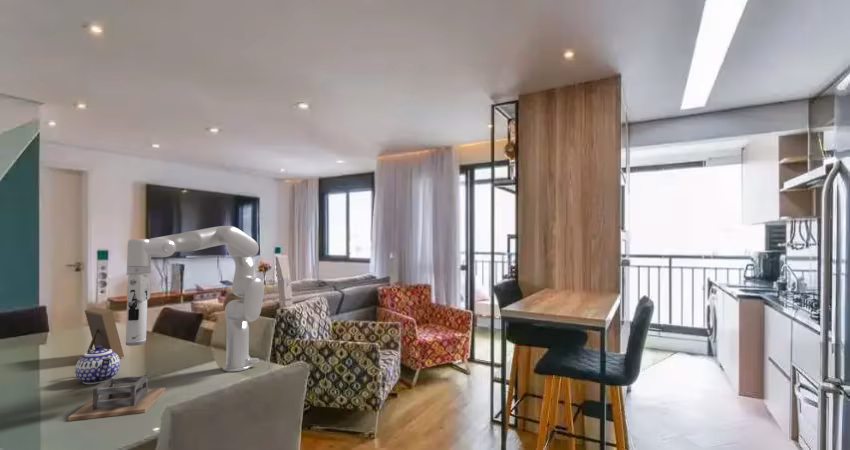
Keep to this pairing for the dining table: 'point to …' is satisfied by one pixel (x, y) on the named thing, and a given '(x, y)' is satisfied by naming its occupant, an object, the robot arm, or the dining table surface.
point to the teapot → (97, 365)
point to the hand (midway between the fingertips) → (137, 318)
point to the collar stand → (119, 398)
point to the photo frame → (103, 330)
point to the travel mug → (137, 325)
